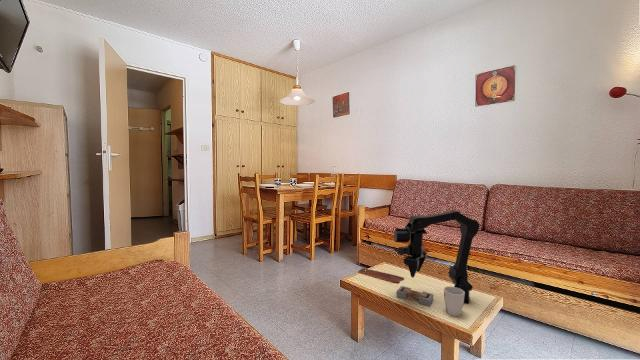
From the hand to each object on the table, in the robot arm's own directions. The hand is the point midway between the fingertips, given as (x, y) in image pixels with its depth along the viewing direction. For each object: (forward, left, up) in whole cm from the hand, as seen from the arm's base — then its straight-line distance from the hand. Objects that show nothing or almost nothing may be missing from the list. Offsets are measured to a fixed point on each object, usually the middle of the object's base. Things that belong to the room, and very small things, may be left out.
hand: (415, 274), depth 129 cm
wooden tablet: (+25, -17, -13) cm, 33 cm away
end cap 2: (-5, 0, -12) cm, 13 cm away
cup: (-18, +3, -12) cm, 22 cm away
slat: (0, 0, -12) cm, 12 cm away
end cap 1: (+5, 0, -12) cm, 13 cm away
